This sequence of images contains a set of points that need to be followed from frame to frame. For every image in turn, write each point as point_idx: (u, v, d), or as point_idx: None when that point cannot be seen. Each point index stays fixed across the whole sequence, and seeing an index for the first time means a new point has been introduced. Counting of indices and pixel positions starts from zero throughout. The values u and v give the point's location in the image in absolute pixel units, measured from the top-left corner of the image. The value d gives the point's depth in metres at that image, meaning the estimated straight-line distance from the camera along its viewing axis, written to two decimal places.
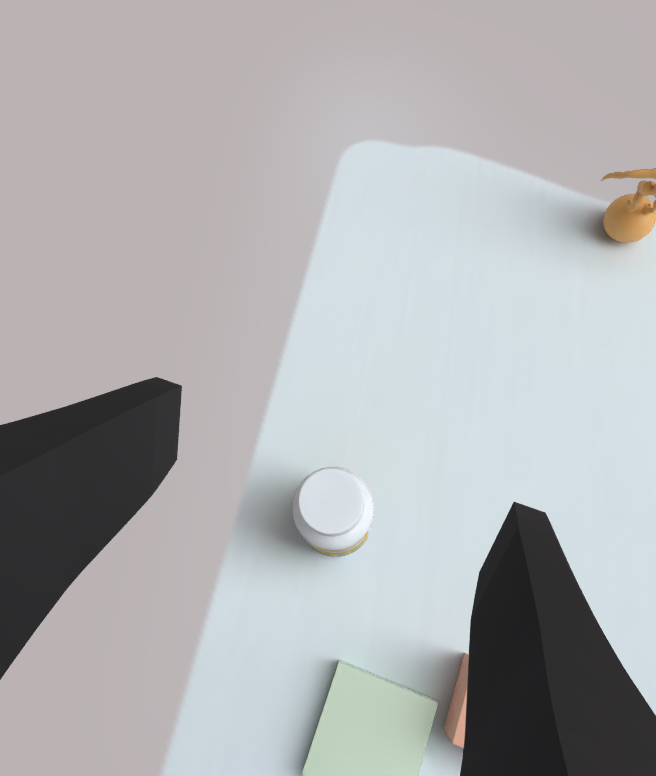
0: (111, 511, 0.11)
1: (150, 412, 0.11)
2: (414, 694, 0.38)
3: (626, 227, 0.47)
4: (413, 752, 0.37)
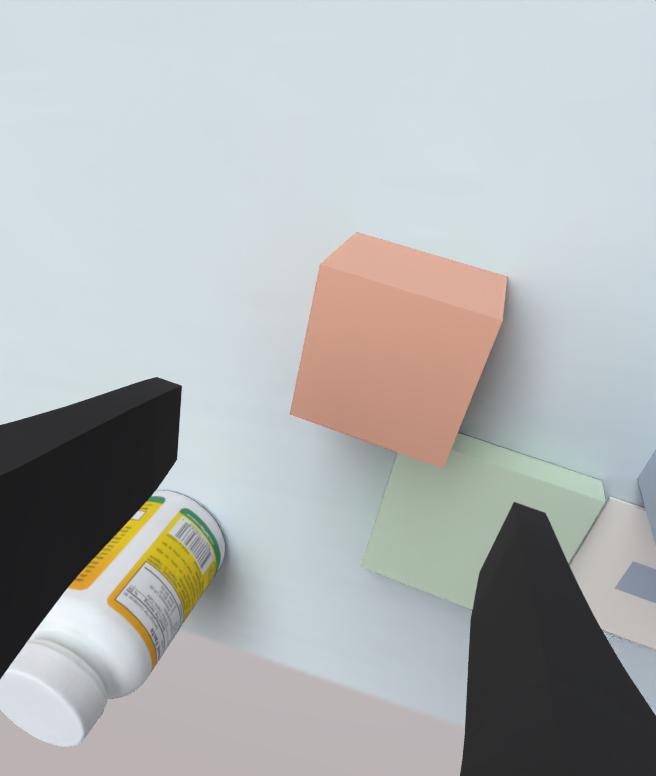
0: (111, 510, 0.11)
1: (150, 412, 0.11)
2: (394, 468, 0.21)
3: None
4: (488, 479, 0.20)
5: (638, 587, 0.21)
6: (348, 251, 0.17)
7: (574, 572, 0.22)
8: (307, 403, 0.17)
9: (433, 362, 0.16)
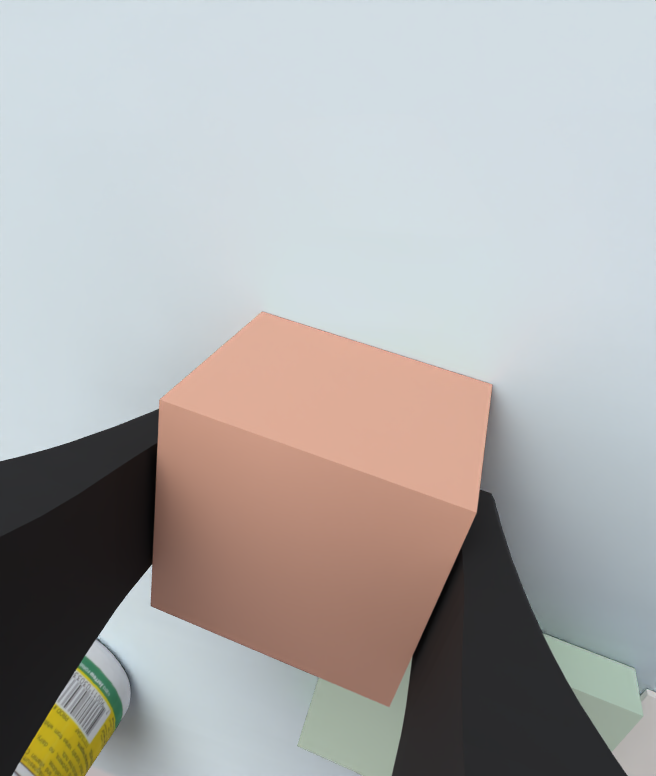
0: None
1: None
2: None
3: None
4: None
5: None
6: (228, 359, 0.10)
7: None
8: (173, 594, 0.11)
9: (361, 562, 0.09)
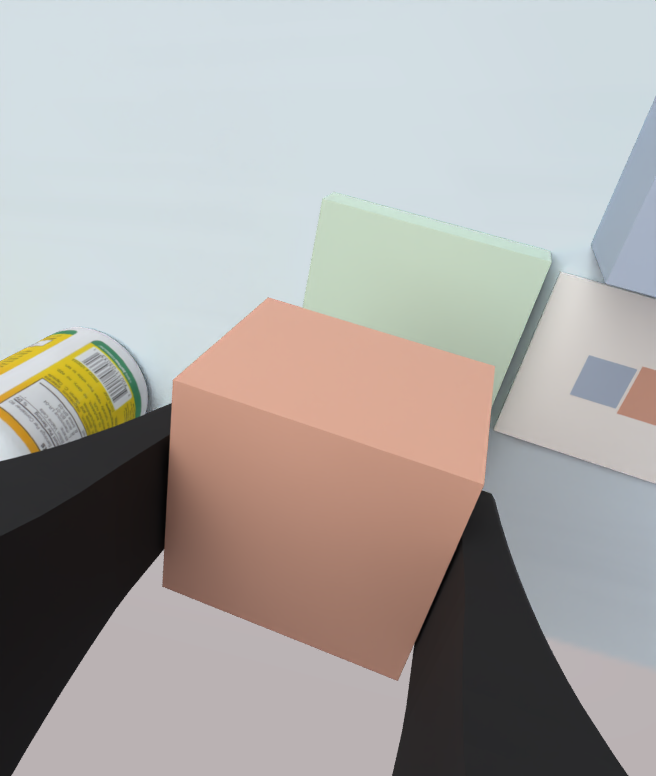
0: (157, 529, 0.11)
1: None
2: (315, 249, 0.18)
3: None
4: (419, 248, 0.17)
5: (595, 389, 0.19)
6: (237, 342, 0.10)
7: (524, 378, 0.19)
8: (186, 574, 0.11)
9: (371, 537, 0.09)
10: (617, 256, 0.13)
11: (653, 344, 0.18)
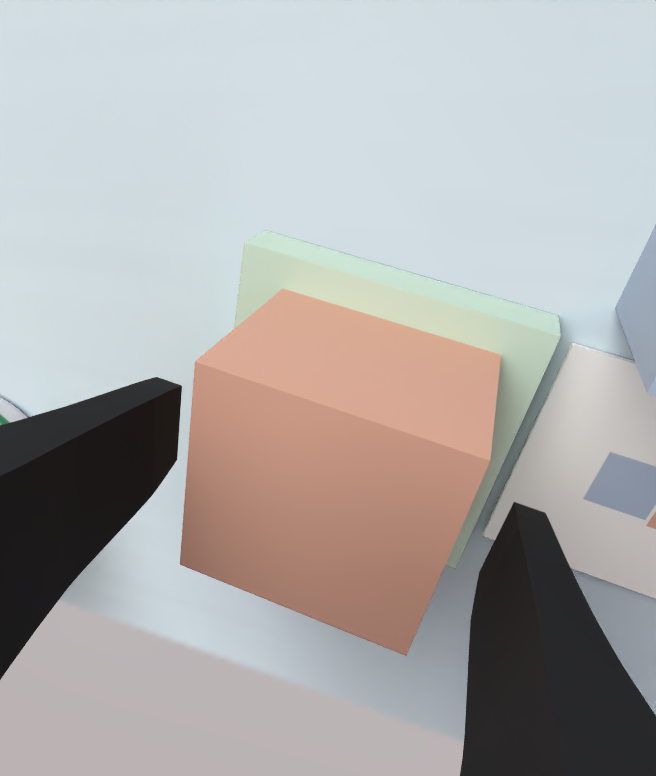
0: (111, 510, 0.11)
1: (149, 411, 0.11)
2: (239, 308, 0.13)
3: None
4: (378, 312, 0.12)
5: (618, 495, 0.14)
6: (254, 329, 0.11)
7: (522, 476, 0.14)
8: (203, 552, 0.12)
9: (382, 513, 0.10)
10: None
11: None
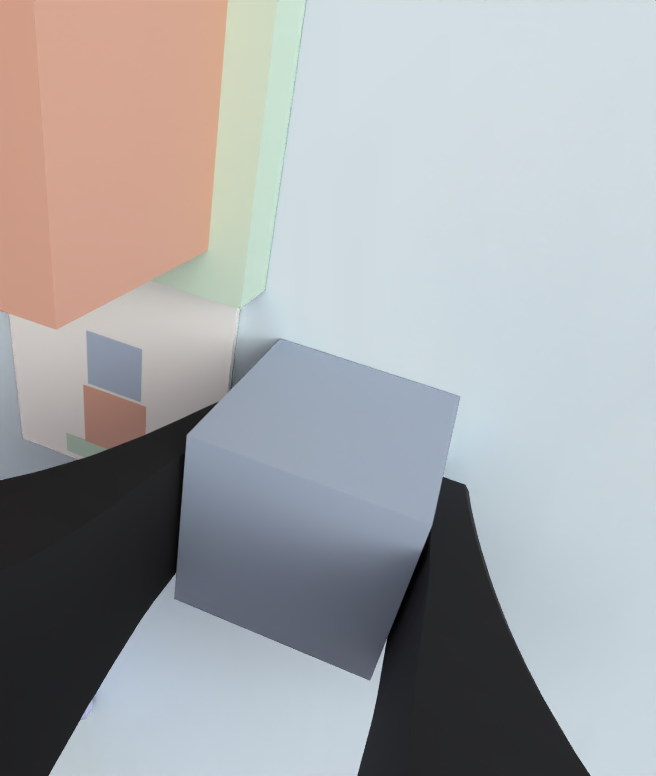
0: None
1: None
2: None
3: None
4: (227, 85, 0.09)
5: (102, 360, 0.14)
6: None
7: None
8: None
9: None
10: (226, 445, 0.09)
11: (175, 413, 0.14)
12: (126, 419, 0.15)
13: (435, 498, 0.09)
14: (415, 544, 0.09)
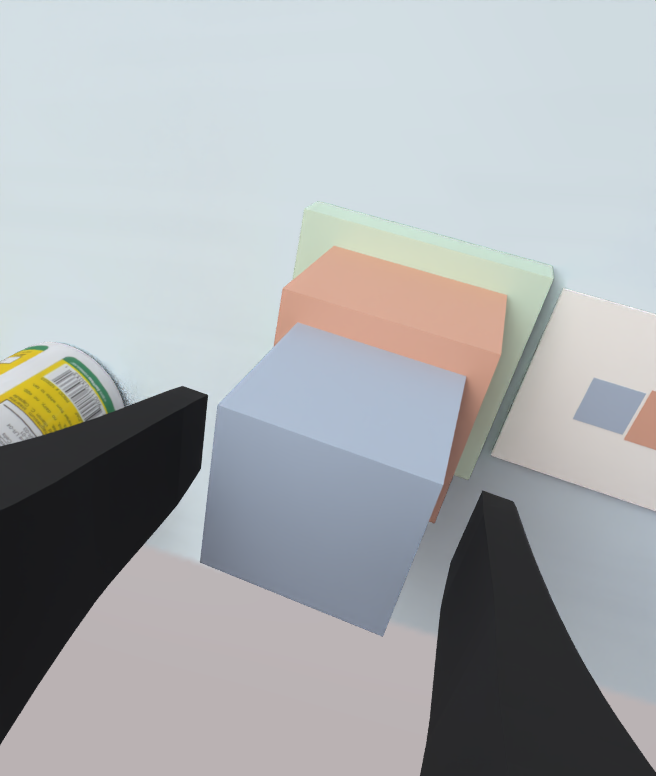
0: (138, 521, 0.11)
1: (178, 421, 0.11)
2: (297, 263, 0.17)
3: None
4: (410, 263, 0.16)
5: (601, 414, 0.17)
6: (319, 270, 0.14)
7: (524, 401, 0.18)
8: None
9: None
10: (254, 415, 0.10)
11: None
12: None
13: (445, 463, 0.10)
14: (427, 504, 0.09)
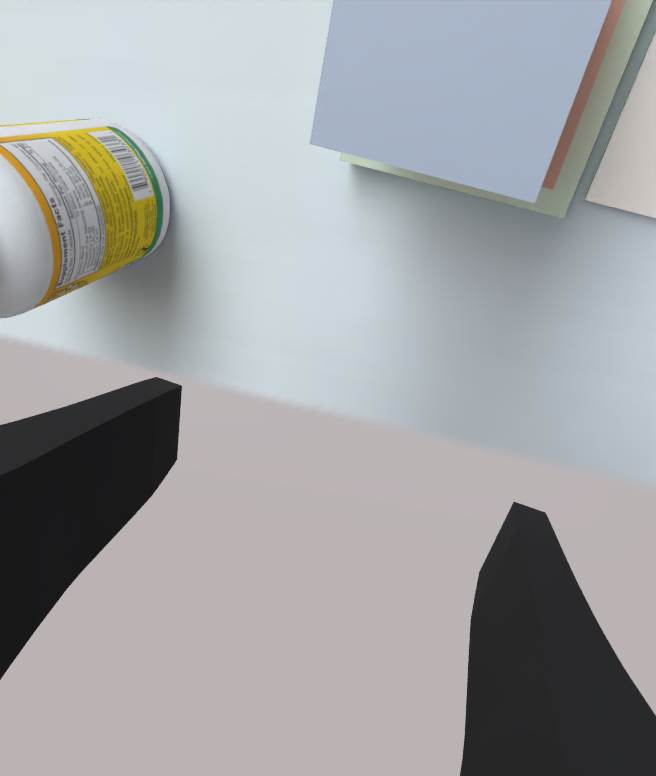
0: (111, 510, 0.11)
1: (150, 412, 0.11)
2: None
3: None
4: None
5: None
6: None
7: (629, 120, 0.16)
8: None
9: None
10: None
11: None
12: None
13: None
14: None
